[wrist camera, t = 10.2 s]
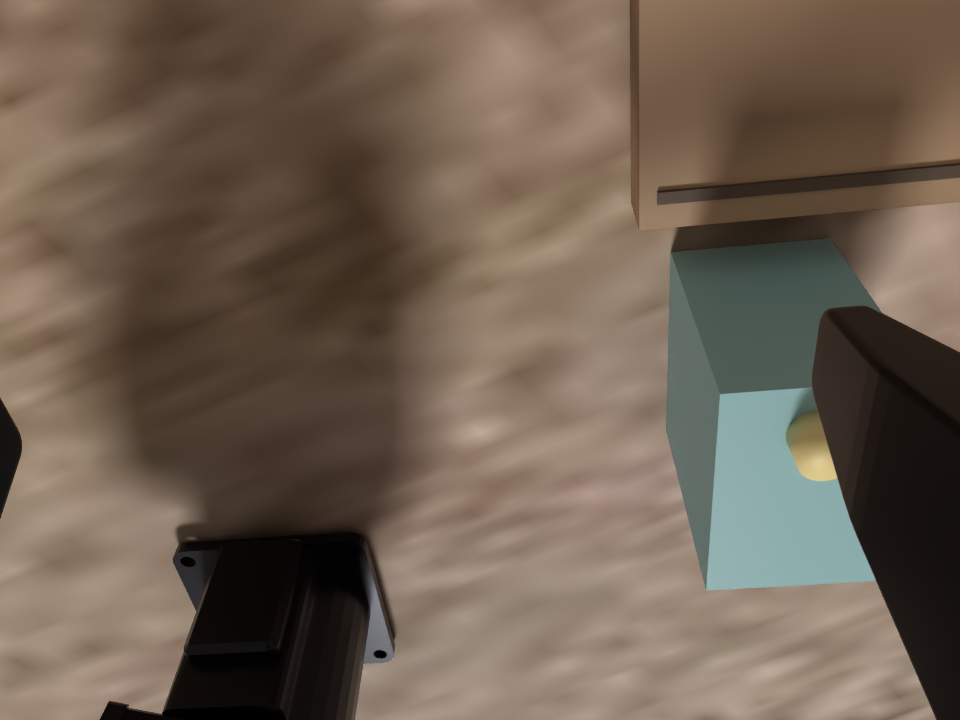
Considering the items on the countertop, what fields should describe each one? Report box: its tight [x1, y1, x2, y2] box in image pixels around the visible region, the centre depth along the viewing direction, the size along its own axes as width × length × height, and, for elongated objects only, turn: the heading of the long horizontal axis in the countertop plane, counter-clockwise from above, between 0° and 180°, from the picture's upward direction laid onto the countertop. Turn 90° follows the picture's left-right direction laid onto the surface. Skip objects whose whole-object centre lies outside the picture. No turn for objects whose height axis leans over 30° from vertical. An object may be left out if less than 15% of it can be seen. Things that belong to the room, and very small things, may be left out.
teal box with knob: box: [666, 238, 882, 590], centre depth 20 cm, size 6×4×7 cm, turn 6°
